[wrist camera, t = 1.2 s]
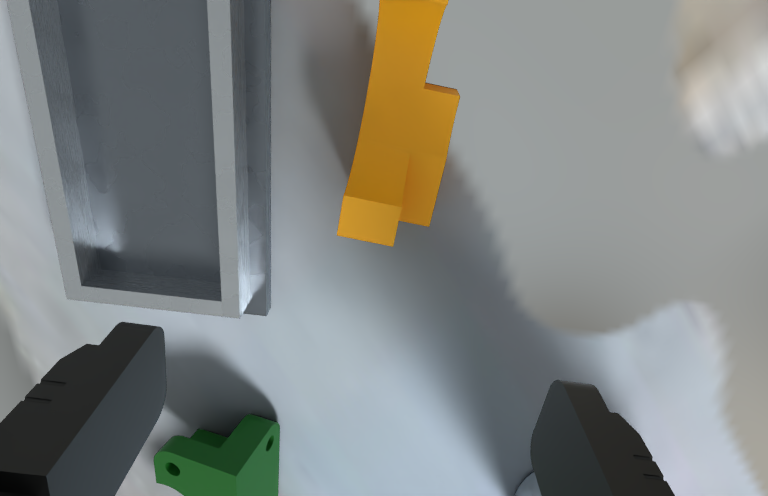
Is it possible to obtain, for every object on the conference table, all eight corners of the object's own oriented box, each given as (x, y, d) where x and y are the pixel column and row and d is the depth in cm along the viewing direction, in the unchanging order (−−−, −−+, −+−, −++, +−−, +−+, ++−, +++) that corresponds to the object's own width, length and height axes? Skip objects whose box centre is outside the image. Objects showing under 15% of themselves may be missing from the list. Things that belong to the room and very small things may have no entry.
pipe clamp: (427, 204, 29) (430, 254, 23) (352, 189, 29) (336, 235, 23) (486, -32, 24) (509, -45, 18) (395, -52, 24) (388, -72, 18)
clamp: (232, 381, 41) (157, 419, 32) (300, 403, 39) (242, 448, 30) (203, 523, 41) (121, 599, 32) (269, 550, 40) (202, 635, 31)
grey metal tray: (270, -58, 24) (251, -67, 21) (270, 307, 32) (257, 335, 29) (15, -85, 24) (-37, -97, 21) (83, 286, 32) (52, 312, 30)
